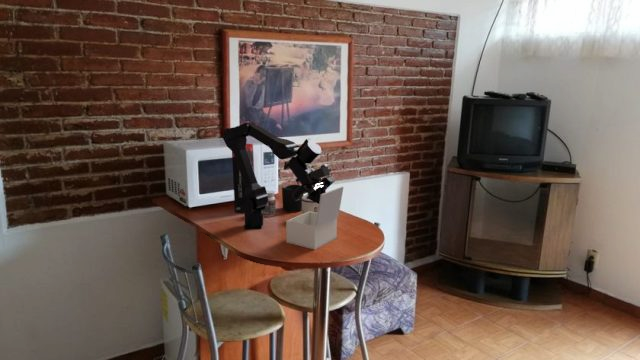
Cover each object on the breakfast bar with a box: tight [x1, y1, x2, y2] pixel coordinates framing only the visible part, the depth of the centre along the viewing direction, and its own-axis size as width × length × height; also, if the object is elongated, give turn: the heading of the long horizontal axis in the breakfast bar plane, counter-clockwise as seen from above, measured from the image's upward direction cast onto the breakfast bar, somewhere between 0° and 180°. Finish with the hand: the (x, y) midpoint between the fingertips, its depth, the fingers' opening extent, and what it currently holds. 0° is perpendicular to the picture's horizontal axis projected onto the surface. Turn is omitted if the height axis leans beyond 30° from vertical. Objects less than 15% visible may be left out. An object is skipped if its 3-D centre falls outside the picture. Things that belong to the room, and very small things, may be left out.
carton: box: [285, 211, 338, 251], centre depth 169 cm, size 12×14×8 cm
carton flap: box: [316, 186, 344, 227], centre depth 163 cm, size 12×14×1 cm
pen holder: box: [281, 184, 305, 213], centre depth 207 cm, size 9×9×10 cm
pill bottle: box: [262, 190, 277, 218], centre depth 198 cm, size 6×6×10 cm
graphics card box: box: [231, 143, 255, 214], centre depth 207 cm, size 17×7×27 cm, turn 179°
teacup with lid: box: [301, 193, 319, 214], centre depth 194 cm, size 12×9×12 cm
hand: (328, 207), depth 164 cm, fingers closed, pressing on carton flap
